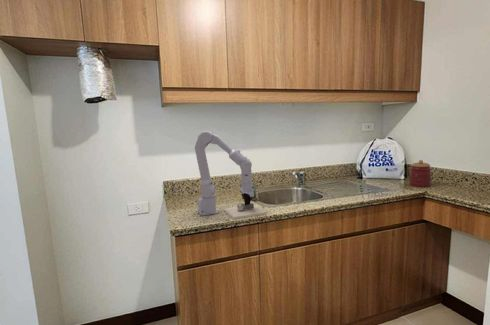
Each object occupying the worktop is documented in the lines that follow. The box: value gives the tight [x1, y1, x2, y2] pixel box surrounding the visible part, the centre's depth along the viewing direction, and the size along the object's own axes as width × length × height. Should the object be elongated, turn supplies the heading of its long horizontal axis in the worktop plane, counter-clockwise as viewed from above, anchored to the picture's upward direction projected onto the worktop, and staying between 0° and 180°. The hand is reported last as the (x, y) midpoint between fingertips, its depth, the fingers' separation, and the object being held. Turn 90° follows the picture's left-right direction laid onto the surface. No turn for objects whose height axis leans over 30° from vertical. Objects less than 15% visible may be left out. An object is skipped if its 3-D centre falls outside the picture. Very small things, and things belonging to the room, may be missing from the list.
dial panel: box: [223, 203, 267, 221], centre depth 145 cm, size 18×16×1 cm
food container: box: [239, 182, 258, 202], centre depth 171 cm, size 12×6×10 cm, turn 44°
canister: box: [408, 159, 433, 188], centre depth 188 cm, size 13×13×18 cm
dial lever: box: [236, 202, 255, 211], centre depth 145 cm, size 9×4×3 cm, turn 107°
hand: (247, 206), depth 146 cm, fingers closed, pressing on dial lever
